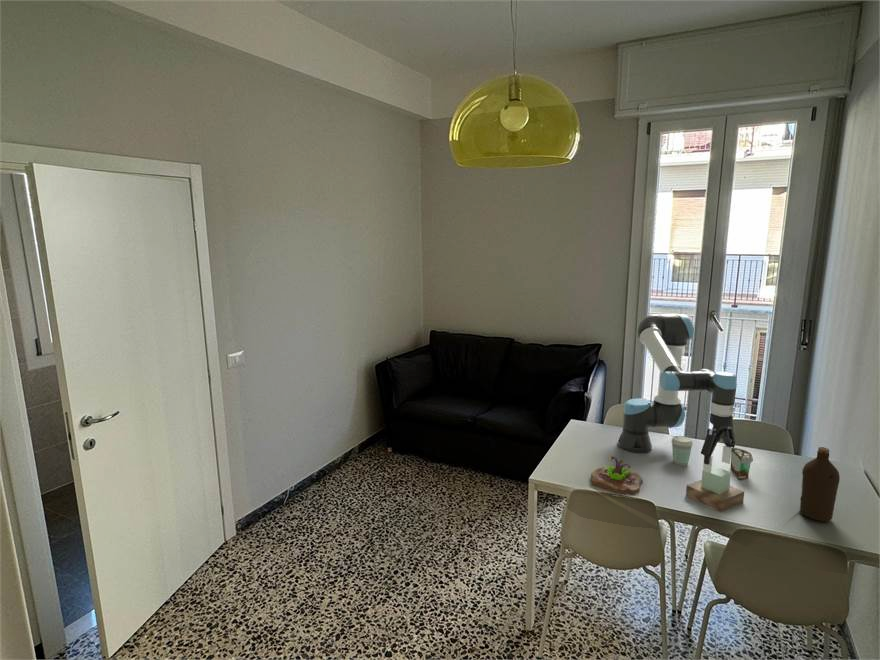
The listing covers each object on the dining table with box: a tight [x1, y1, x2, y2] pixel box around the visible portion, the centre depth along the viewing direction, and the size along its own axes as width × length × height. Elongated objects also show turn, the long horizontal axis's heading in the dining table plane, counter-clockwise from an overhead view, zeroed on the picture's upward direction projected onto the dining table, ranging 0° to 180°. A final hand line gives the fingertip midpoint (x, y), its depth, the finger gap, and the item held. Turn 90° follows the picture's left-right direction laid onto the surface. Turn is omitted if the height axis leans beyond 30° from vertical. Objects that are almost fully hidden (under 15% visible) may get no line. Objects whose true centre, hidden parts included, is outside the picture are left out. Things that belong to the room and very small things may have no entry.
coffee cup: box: [671, 435, 694, 467], centre depth 222 cm, size 8×8×12 cm
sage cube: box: [701, 465, 732, 494], centre depth 191 cm, size 7×7×7 cm
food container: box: [730, 447, 754, 481], centre depth 211 cm, size 12×6×10 cm, turn 168°
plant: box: [590, 456, 644, 496], centre depth 206 cm, size 20×20×11 cm
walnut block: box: [685, 479, 745, 513], centre depth 192 cm, size 14×14×5 cm
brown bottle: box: [799, 446, 840, 522], centre depth 179 cm, size 11×11×25 cm
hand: (716, 467), depth 190 cm, fingers open, 13 cm apart
